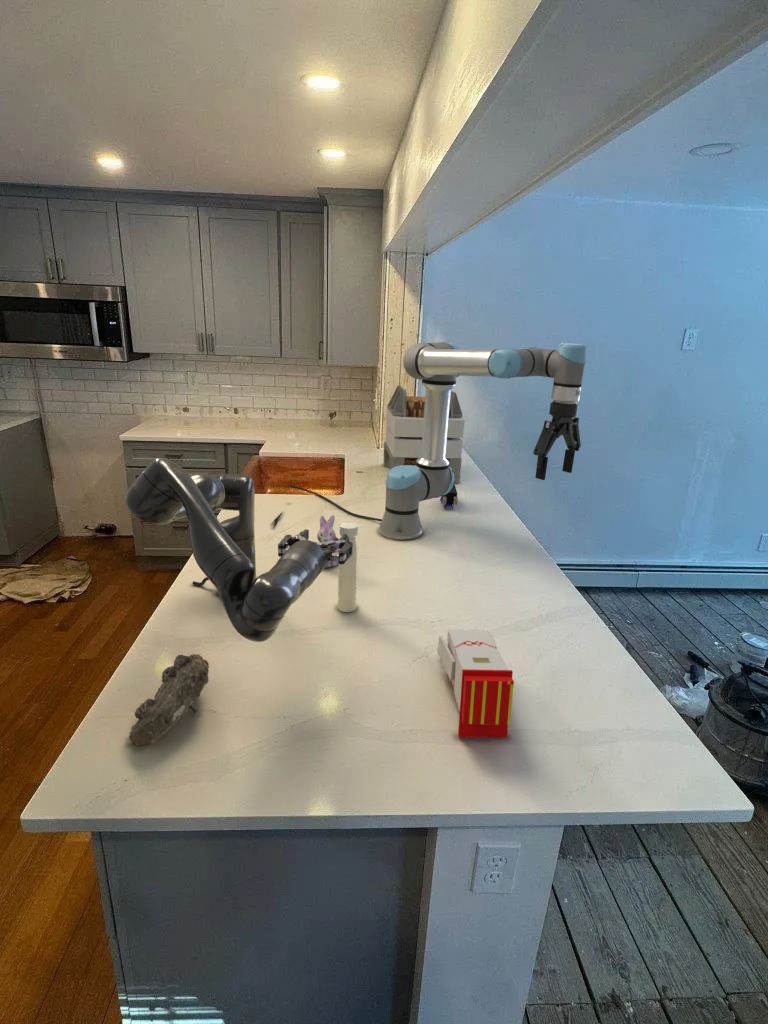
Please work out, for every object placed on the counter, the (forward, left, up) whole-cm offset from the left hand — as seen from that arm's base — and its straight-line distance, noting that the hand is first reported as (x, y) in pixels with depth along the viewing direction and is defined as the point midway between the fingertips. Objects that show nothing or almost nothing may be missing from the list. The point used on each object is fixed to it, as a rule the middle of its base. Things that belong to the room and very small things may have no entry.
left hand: (326, 535), depth 120 cm
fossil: (-21, -27, -29) cm, 45 cm away
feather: (-42, +81, -29) cm, 95 cm away
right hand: (+51, +58, +3) cm, 77 cm away
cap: (-1, +21, -6) cm, 22 cm away
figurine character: (+17, +113, -29) cm, 118 cm away
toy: (+33, -6, -29) cm, 44 cm away
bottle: (-1, +21, -29) cm, 36 cm away
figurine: (-13, +47, -29) cm, 56 cm away
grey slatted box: (-1, +157, -29) cm, 159 cm away
